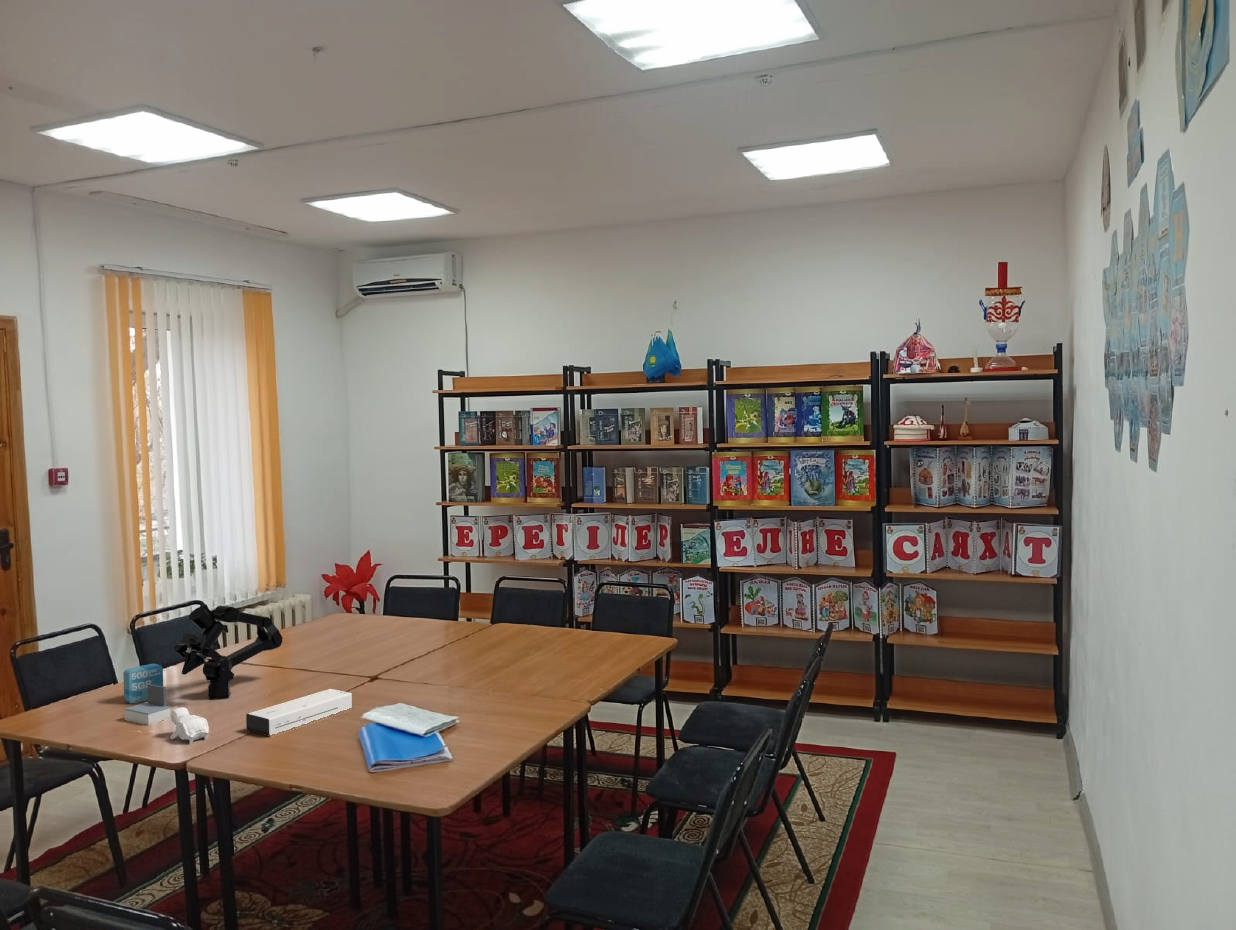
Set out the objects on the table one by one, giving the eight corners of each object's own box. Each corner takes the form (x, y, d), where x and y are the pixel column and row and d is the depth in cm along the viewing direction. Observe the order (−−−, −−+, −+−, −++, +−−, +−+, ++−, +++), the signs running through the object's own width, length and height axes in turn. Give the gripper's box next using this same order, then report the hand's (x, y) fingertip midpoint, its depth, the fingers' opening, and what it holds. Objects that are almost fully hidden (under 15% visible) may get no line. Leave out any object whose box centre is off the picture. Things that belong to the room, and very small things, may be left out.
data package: (129, 704, 322) (128, 671, 322) (123, 702, 325) (123, 669, 324) (163, 697, 331) (163, 664, 331) (158, 694, 334) (157, 662, 334)
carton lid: (146, 703, 311) (145, 683, 311) (169, 708, 306) (169, 687, 306) (124, 710, 304) (124, 689, 304) (148, 714, 299) (147, 693, 299)
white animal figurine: (210, 746, 287) (186, 721, 295) (215, 723, 285) (191, 698, 293) (183, 754, 280) (160, 728, 288) (188, 731, 278) (164, 705, 286)
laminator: (268, 738, 287) (268, 719, 286) (244, 732, 293) (243, 712, 293) (352, 710, 315) (352, 692, 315) (328, 705, 322) (328, 687, 322)
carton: (146, 713, 311) (146, 703, 311) (170, 718, 306) (169, 708, 306) (124, 720, 304) (124, 710, 304) (148, 725, 299) (148, 714, 299)
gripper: (177, 621, 325) (150, 658, 316) (213, 625, 317) (186, 664, 308) (196, 638, 333) (170, 675, 323) (232, 643, 324) (206, 681, 315)
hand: (183, 674), depth 317 cm, fingers closed
